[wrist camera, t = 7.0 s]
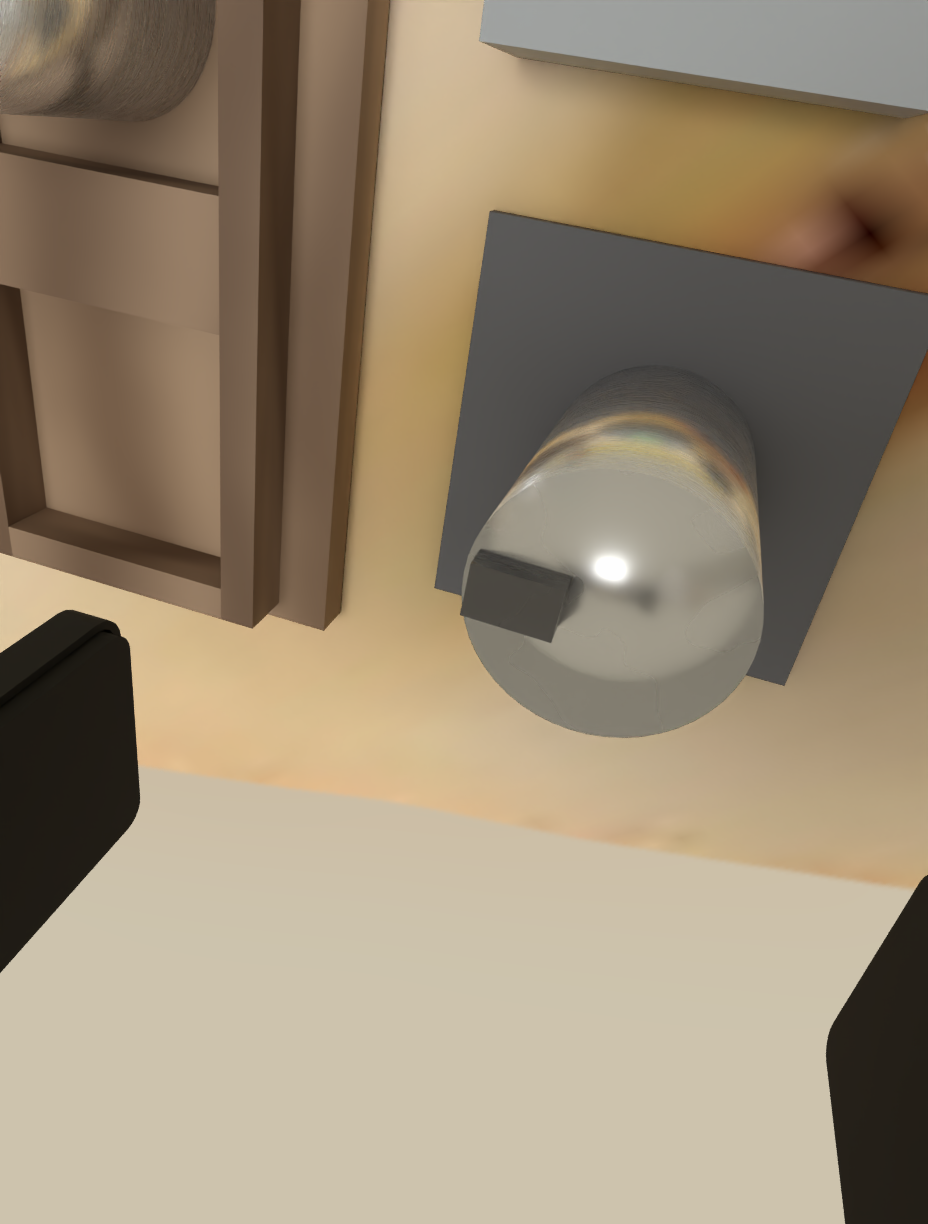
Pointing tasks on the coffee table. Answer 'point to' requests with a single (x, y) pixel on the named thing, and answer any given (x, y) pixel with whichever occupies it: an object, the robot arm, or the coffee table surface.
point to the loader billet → (102, 56)
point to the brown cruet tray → (196, 322)
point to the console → (735, 45)
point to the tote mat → (708, 346)
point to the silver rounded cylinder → (625, 560)
